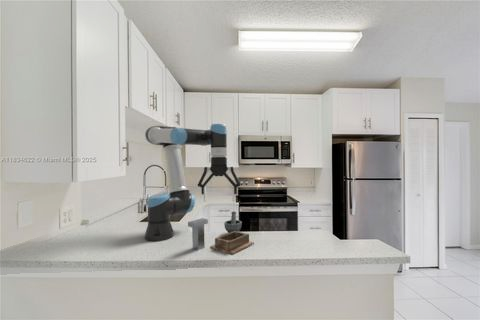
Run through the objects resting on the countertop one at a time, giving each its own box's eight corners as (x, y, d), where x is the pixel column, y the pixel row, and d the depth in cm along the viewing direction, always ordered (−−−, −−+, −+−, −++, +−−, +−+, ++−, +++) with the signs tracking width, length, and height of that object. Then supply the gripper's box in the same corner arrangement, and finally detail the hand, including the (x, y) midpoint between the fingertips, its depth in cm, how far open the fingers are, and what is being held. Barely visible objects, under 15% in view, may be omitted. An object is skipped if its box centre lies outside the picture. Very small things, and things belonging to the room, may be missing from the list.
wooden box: (210, 248, 114) (210, 237, 114) (232, 239, 127) (232, 229, 127) (233, 254, 106) (232, 243, 106) (253, 244, 118) (253, 234, 118)
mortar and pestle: (241, 237, 130) (240, 215, 130) (223, 237, 130) (223, 215, 130) (242, 231, 141) (241, 210, 141) (226, 231, 142) (226, 210, 142)
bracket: (188, 249, 113) (187, 222, 113) (202, 244, 120) (202, 218, 120) (194, 251, 110) (193, 223, 110) (208, 245, 117) (207, 219, 117)
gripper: (191, 156, 111) (191, 202, 111) (245, 156, 111) (245, 202, 111) (194, 156, 118) (194, 199, 119) (244, 156, 118) (245, 199, 119)
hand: (219, 201), depth 115 cm, fingers open, 13 cm apart
